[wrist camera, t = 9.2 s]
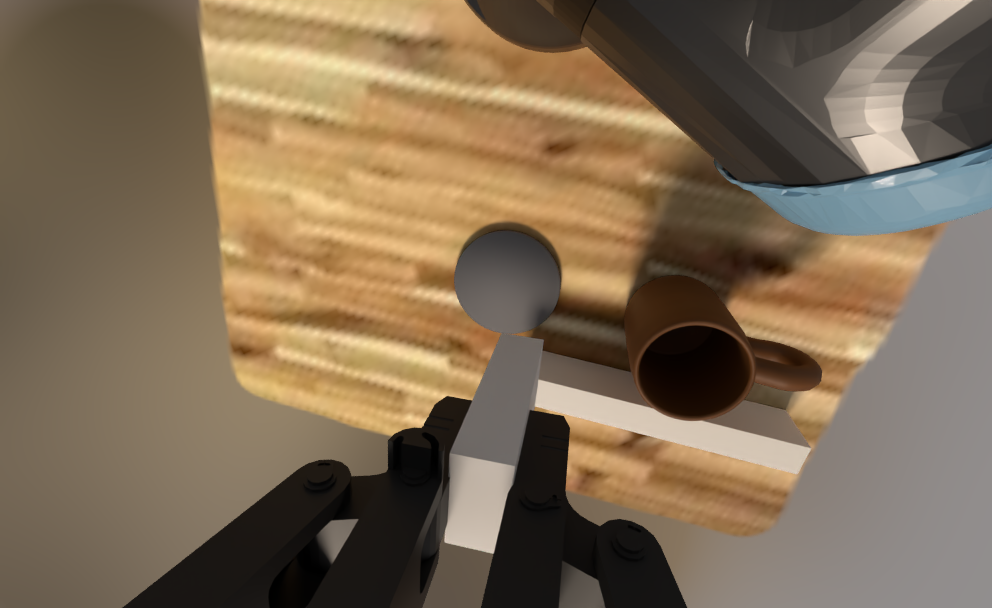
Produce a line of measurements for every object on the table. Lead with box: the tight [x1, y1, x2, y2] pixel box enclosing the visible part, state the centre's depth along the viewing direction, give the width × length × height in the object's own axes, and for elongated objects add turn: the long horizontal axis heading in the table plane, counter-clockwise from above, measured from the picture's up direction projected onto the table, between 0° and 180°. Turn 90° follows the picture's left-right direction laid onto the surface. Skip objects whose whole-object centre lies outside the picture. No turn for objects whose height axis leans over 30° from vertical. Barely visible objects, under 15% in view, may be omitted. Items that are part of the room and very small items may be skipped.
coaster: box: [454, 230, 561, 334], centre depth 39 cm, size 9×9×1 cm
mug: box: [624, 275, 822, 421], centre depth 33 cm, size 12×8×9 cm, turn 88°
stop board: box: [535, 351, 811, 474], centre depth 38 cm, size 2×22×5 cm, turn 81°
